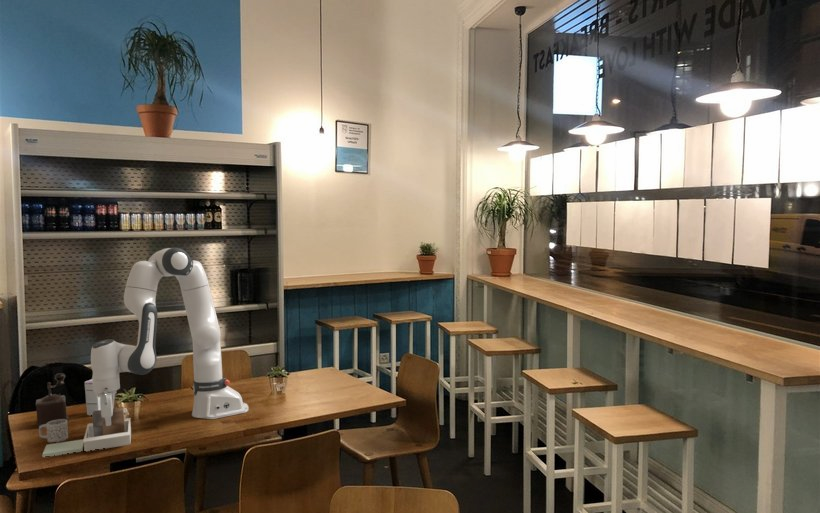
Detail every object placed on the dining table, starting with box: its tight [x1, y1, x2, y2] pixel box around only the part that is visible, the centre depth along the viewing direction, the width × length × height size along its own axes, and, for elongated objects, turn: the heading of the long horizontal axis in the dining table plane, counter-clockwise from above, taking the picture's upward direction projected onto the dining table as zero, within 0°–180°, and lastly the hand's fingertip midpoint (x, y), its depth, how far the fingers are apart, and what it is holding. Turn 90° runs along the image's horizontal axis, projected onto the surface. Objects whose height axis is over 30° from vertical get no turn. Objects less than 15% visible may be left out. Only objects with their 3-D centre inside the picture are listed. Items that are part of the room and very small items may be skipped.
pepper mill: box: [35, 372, 70, 429], centre depth 250 cm, size 16×11×18 cm
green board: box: [42, 438, 84, 458], centre depth 217 cm, size 12×10×1 cm
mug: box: [38, 419, 69, 443], centre depth 228 cm, size 10×7×7 cm, turn 92°
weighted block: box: [91, 406, 125, 437], centre depth 224 cm, size 10×5×8 cm, turn 114°
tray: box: [83, 417, 132, 452], centre depth 224 cm, size 15×21×4 cm
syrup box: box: [84, 378, 101, 416], centre depth 258 cm, size 6×6×14 cm
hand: (109, 422), depth 224 cm, fingers closed on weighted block, 5 cm apart
